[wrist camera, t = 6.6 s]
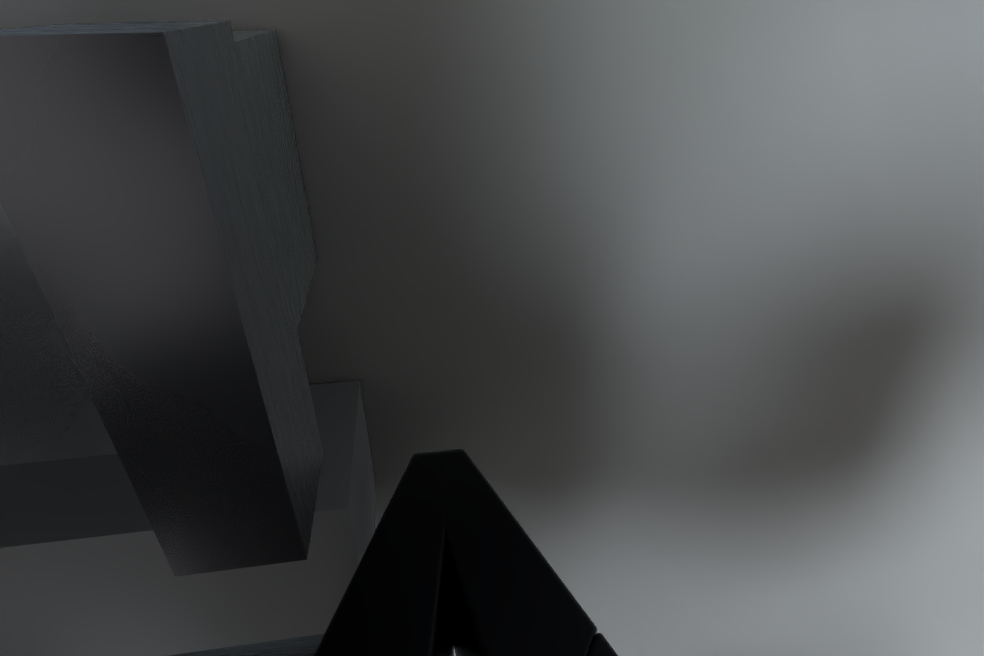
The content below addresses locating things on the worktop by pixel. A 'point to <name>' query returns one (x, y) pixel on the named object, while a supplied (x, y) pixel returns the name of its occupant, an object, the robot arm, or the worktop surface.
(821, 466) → the worktop surface
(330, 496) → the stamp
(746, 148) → the worktop surface
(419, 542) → the robot arm
